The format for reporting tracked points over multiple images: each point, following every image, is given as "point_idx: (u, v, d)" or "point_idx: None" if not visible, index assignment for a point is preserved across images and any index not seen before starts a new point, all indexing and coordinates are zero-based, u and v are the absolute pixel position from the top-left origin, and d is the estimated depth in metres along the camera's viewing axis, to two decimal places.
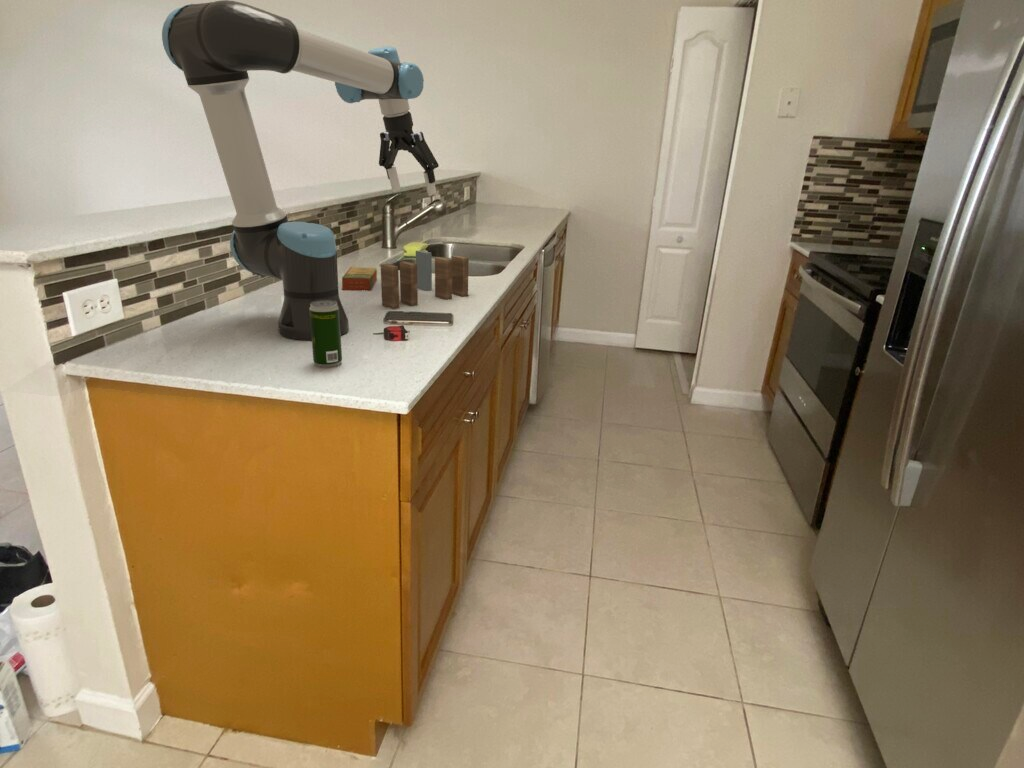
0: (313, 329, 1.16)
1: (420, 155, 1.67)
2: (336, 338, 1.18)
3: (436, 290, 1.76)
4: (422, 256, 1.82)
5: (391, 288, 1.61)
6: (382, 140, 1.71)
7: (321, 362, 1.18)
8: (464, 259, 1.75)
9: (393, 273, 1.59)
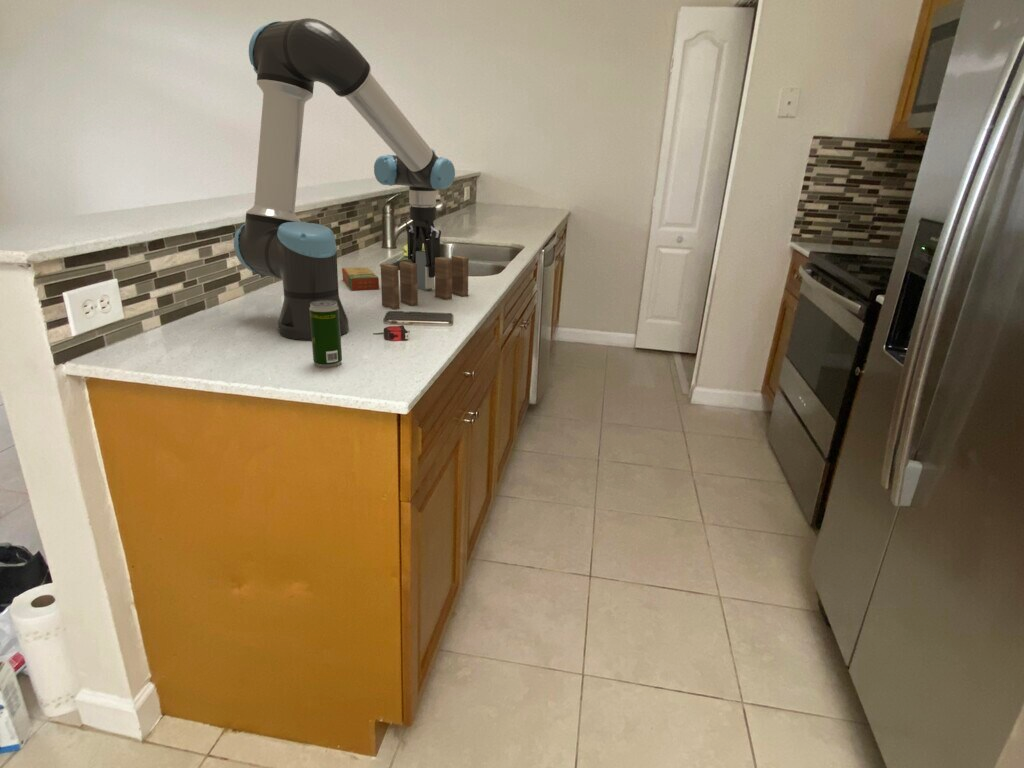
0: (313, 329, 1.16)
1: (430, 250, 1.80)
2: (335, 338, 1.18)
3: (436, 290, 1.76)
4: (422, 256, 1.82)
5: (391, 288, 1.61)
6: (408, 232, 1.84)
7: (321, 362, 1.18)
8: (464, 259, 1.75)
9: (393, 273, 1.59)
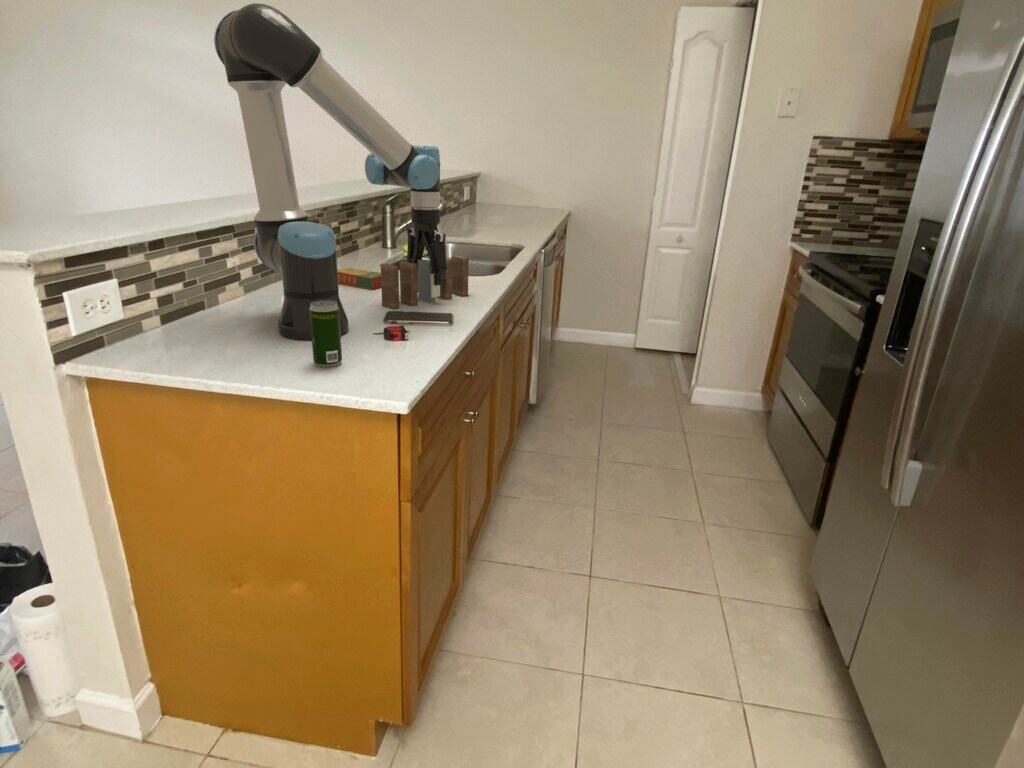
0: (313, 329, 1.16)
1: (434, 255, 1.65)
2: (336, 338, 1.18)
3: None
4: (425, 265, 1.68)
5: (391, 288, 1.61)
6: (409, 236, 1.69)
7: (321, 362, 1.18)
8: (464, 259, 1.75)
9: (393, 272, 1.59)
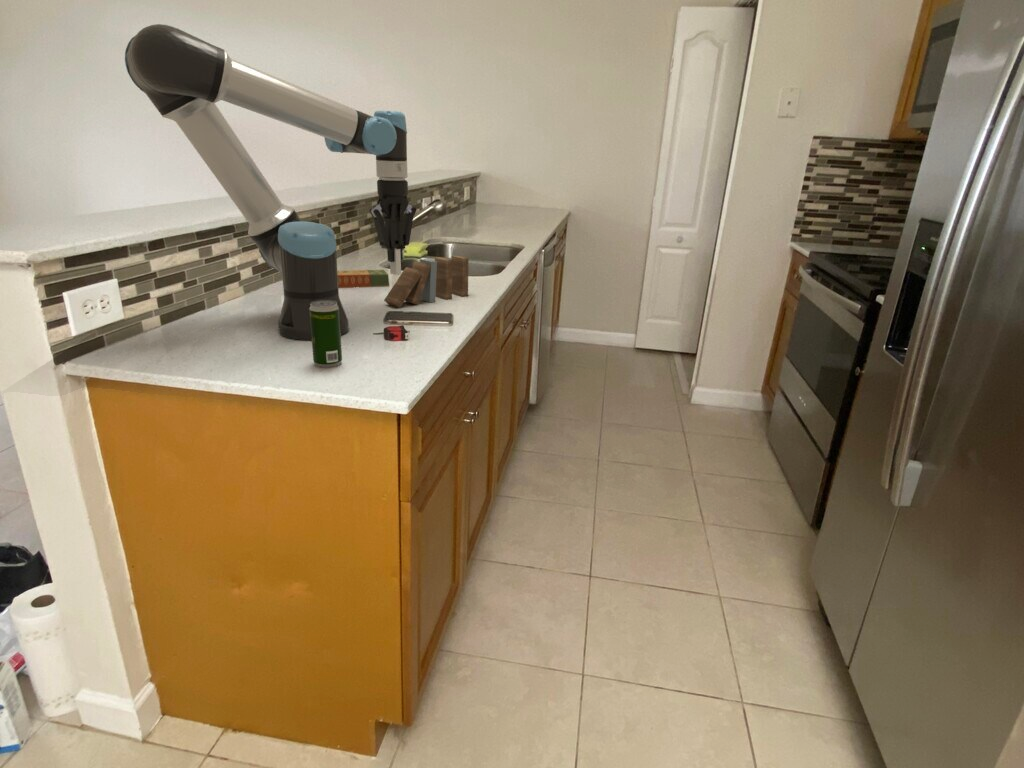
0: (313, 329, 1.16)
1: (387, 230, 1.57)
2: (336, 338, 1.18)
3: (436, 290, 1.76)
4: None
5: (405, 286, 1.64)
6: None
7: (321, 362, 1.18)
8: (464, 259, 1.75)
9: (415, 275, 1.64)
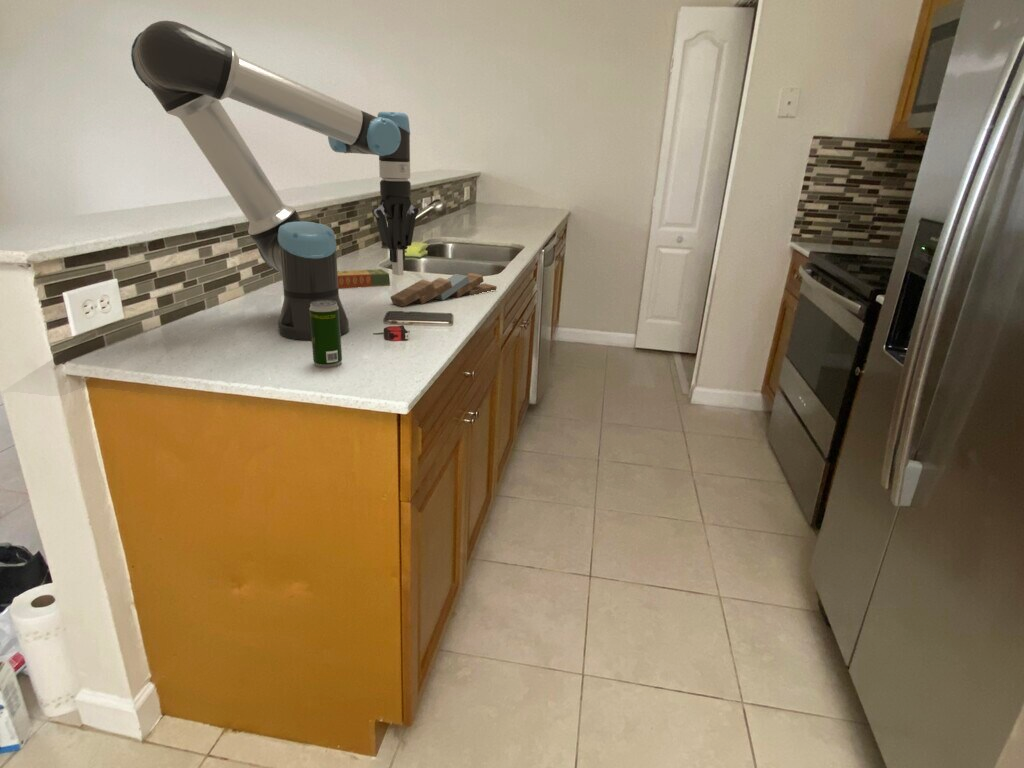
0: (313, 329, 1.16)
1: (389, 230, 1.58)
2: (335, 338, 1.18)
3: None
4: (461, 276, 1.79)
5: (415, 291, 1.67)
6: None
7: (321, 362, 1.18)
8: (495, 287, 1.87)
9: (429, 286, 1.69)
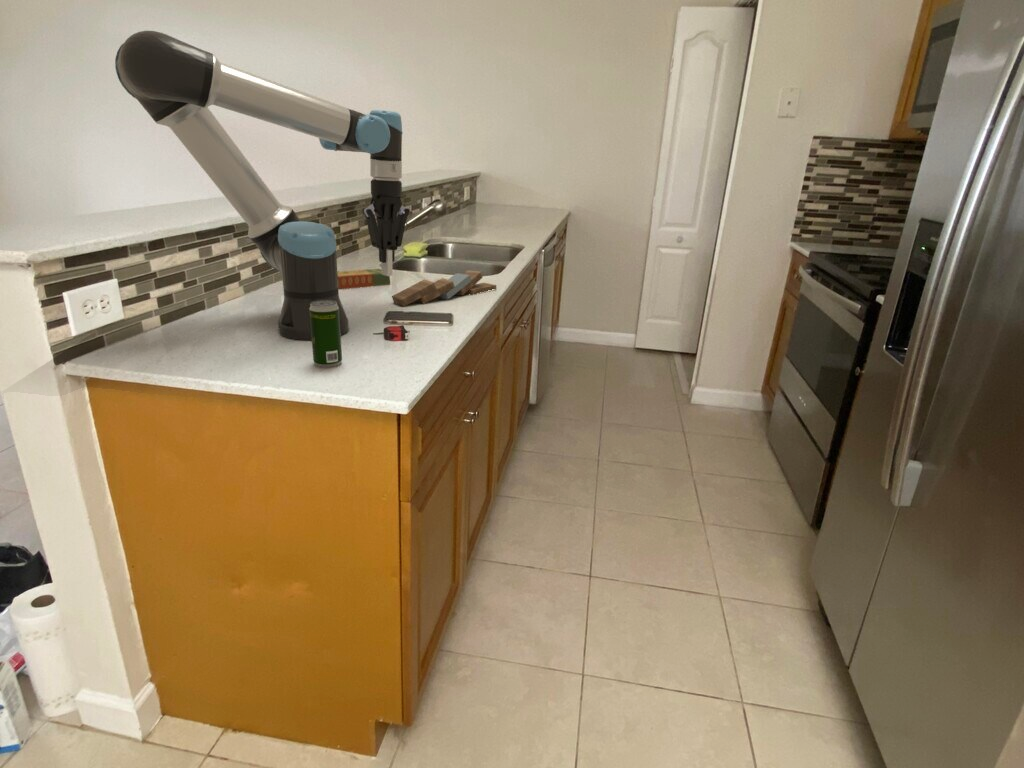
0: (313, 329, 1.16)
1: (379, 230, 1.56)
2: (335, 338, 1.18)
3: None
4: (463, 275, 1.80)
5: (417, 290, 1.67)
6: None
7: (321, 362, 1.18)
8: (495, 286, 1.88)
9: (430, 286, 1.69)
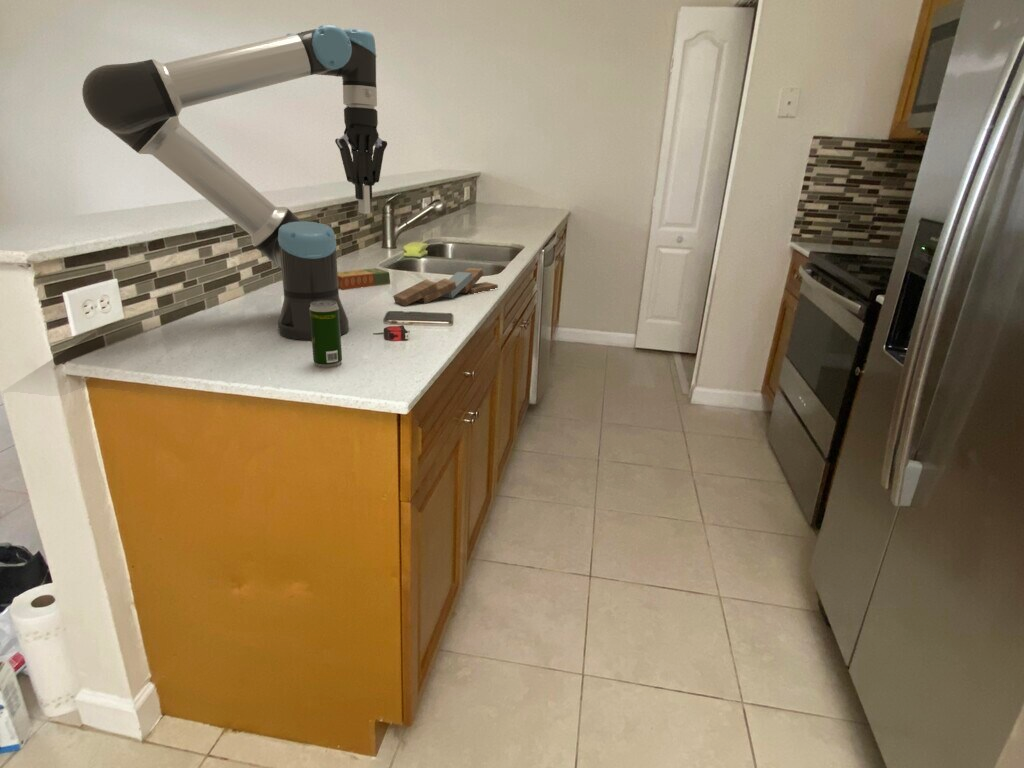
0: (313, 329, 1.16)
1: (355, 164, 1.46)
2: (336, 338, 1.18)
3: None
4: (465, 274, 1.81)
5: (418, 290, 1.67)
6: None
7: (321, 362, 1.18)
8: (496, 286, 1.89)
9: (431, 286, 1.69)
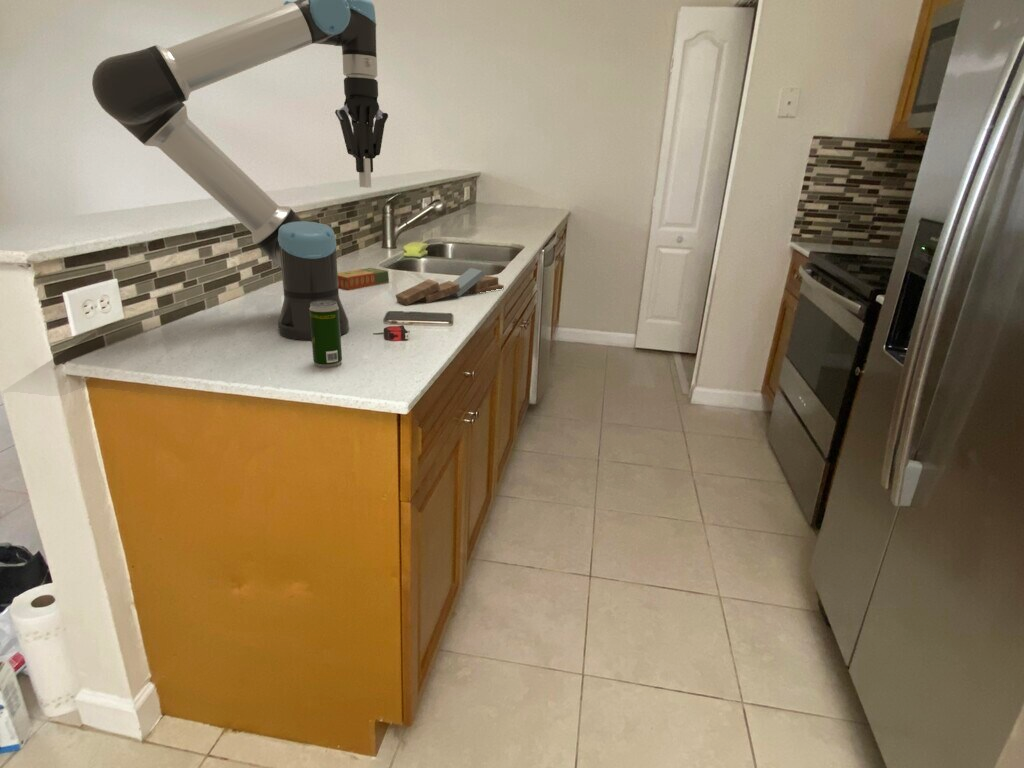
0: (313, 329, 1.16)
1: (355, 136, 1.44)
2: (335, 338, 1.18)
3: None
4: (476, 271, 1.82)
5: (420, 290, 1.68)
6: None
7: (321, 362, 1.18)
8: (502, 287, 1.89)
9: (433, 286, 1.70)
